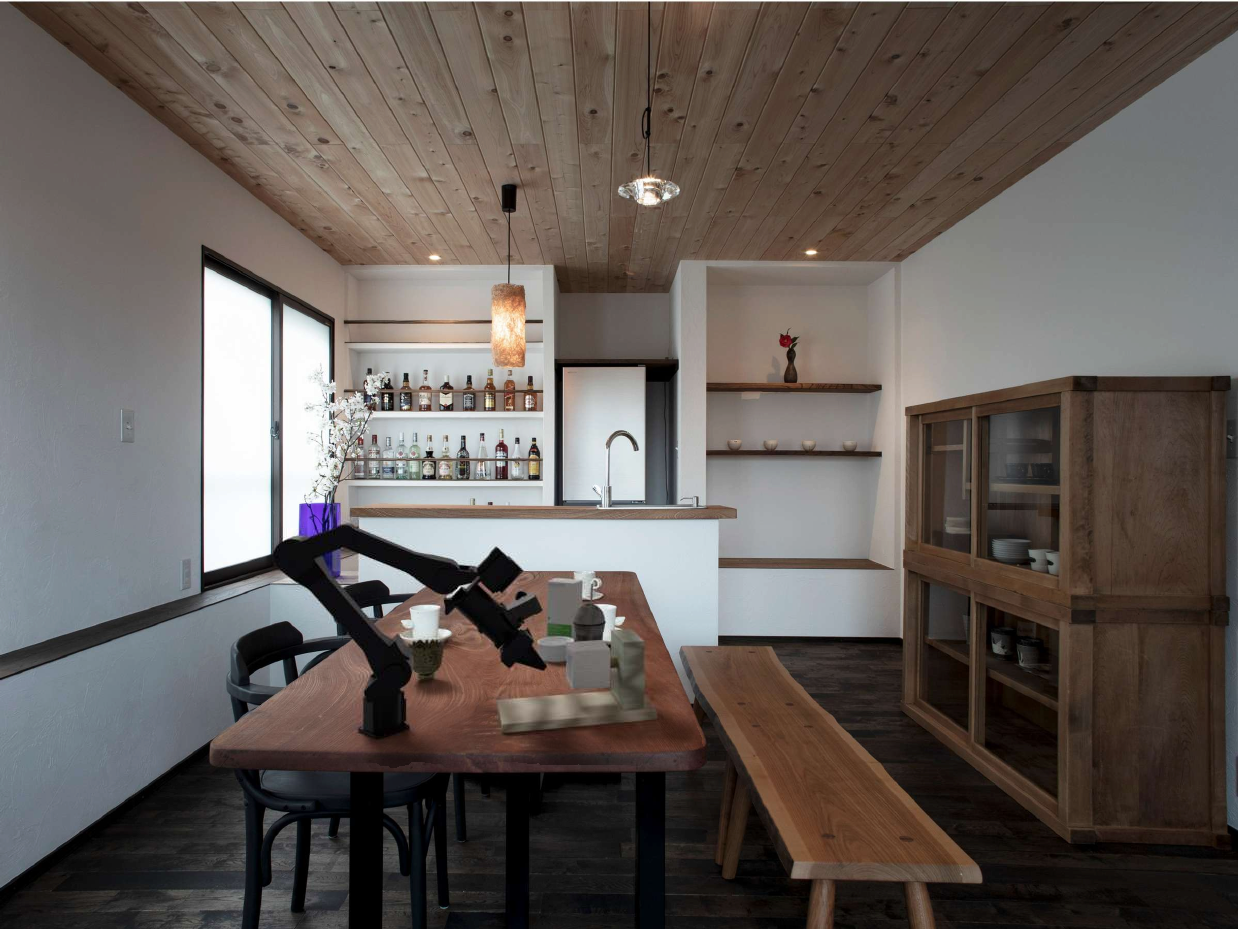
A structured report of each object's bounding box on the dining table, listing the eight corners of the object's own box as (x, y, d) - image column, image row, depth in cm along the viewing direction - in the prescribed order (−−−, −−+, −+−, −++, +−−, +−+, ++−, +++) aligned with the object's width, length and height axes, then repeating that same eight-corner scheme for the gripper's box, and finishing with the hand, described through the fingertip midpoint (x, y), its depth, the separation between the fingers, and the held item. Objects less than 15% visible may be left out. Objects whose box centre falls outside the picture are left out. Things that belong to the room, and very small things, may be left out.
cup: (434, 686, 145) (434, 648, 145) (401, 684, 147) (402, 646, 147) (449, 675, 152) (449, 639, 152) (419, 673, 154) (419, 637, 154)
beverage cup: (566, 676, 152) (566, 585, 152) (583, 667, 158) (583, 580, 159) (595, 681, 149) (595, 588, 149) (611, 672, 155) (611, 583, 155)
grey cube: (572, 690, 125) (572, 651, 125) (566, 678, 132) (566, 642, 132) (610, 687, 127) (610, 649, 127) (602, 676, 134) (602, 640, 134)
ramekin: (540, 665, 161) (540, 646, 161) (534, 655, 170) (534, 637, 170) (577, 662, 164) (577, 643, 164) (570, 652, 172) (570, 635, 172)
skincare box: (545, 639, 185) (545, 581, 185) (554, 633, 191) (554, 577, 191) (574, 641, 182) (574, 582, 182) (583, 635, 189) (583, 578, 189)
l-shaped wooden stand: (502, 733, 119) (502, 652, 120) (497, 707, 132) (497, 634, 132) (657, 719, 126) (657, 642, 126) (638, 696, 139) (638, 626, 139)
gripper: (520, 587, 118) (584, 648, 120) (511, 571, 136) (567, 624, 138) (473, 637, 116) (539, 697, 118) (470, 614, 134) (527, 667, 136)
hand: (545, 668), depth 128 cm, fingers closed
